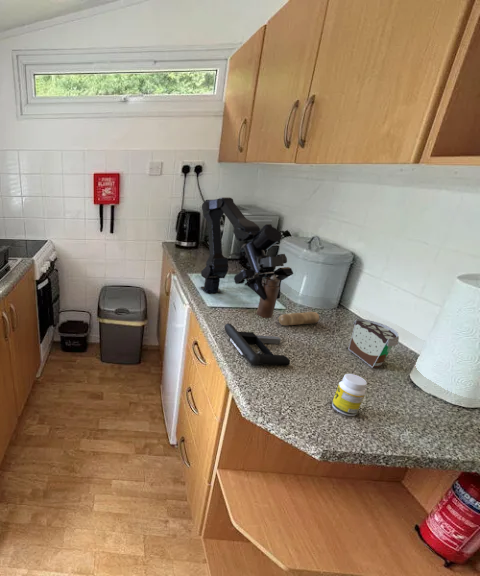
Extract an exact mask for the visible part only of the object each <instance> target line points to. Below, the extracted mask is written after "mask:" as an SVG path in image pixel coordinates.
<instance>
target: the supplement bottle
mask: <svg viewBox="0 0 480 576" xmlns="http://www.w3.org/2000/svg"><path fill="white" fill-rule="evenodd" d="M367 385H368V382H367V381H366V379H364V378H363V377H361V376H360V375H357V374H354V373H345V374H344V376H343V377H342V380H341V381H339V383H338V385H337V388H336V391H335V393H334V396H333V399H332V402H331V406H332V408H333V409H334V410H335V411H337V412H338V413H340V414H342V415H345V416H348V417H354V416H356V415H357V414H358V412H359V410H360V408H361V405H362V403H363V400H364V399H365V396H366V388H367Z"/></svg>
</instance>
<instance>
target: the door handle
mask: <svg viewBox="0 0 480 576" xmlns="http://www.w3.org/2000/svg"><path fill="white" fill-rule="evenodd" d="M222 329H223V330H224V331H225V333H226V334H227V335H228V337H229V338H230V339H229V341H230V342H231V343H232V344H233V346H234V347H235V348H236V350H237V351H238V353H239V354H240V356H244V358H245V359H246V360H247V361H248V362H249V364H251V365H253V366H258V365H266V366H280V367H281V366H283V367H287V366H290V364H291V361H290V359H289V357H288V356H286V355H284V354H274V353H273V352H272V351H271V350H270V349H269V347H267V346H266V345H265V344H272V345H273V344H275V345H279V344H280V343H281V340H282V339H281V338H280V337H279V336H273V335H258V334H257V335H256V333H254V331H239V330H238V329H237V328H236V327H235V326H234V325H233V324H232V323H229V322H228V323H225V325H224V328H222ZM251 345H253V346H256V347H257V348H258V349H259V350H258V352H257V351H255V350H254V349H253V348H252V346H251Z"/></svg>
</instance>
